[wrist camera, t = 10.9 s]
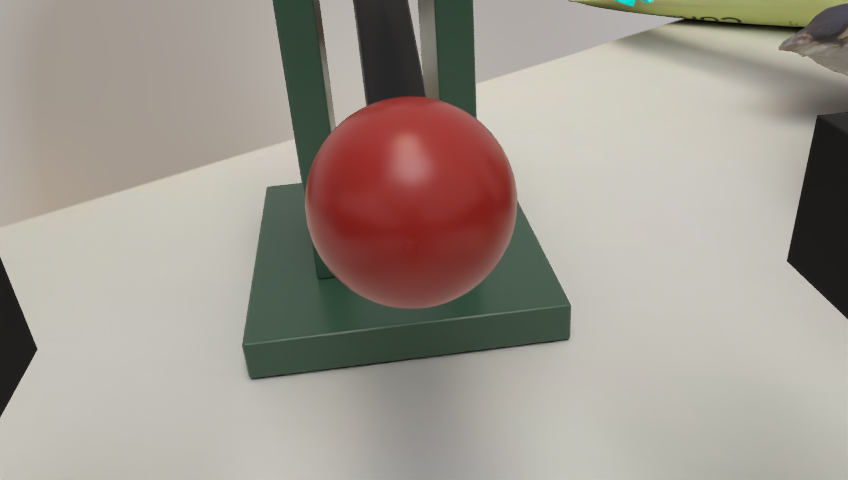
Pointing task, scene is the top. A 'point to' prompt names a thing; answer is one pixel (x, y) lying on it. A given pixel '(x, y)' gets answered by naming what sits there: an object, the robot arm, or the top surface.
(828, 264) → the robot arm
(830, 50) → the bird model
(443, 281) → the lever
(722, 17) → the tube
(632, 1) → the bone model
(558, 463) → the top surface
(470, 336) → the bracket
